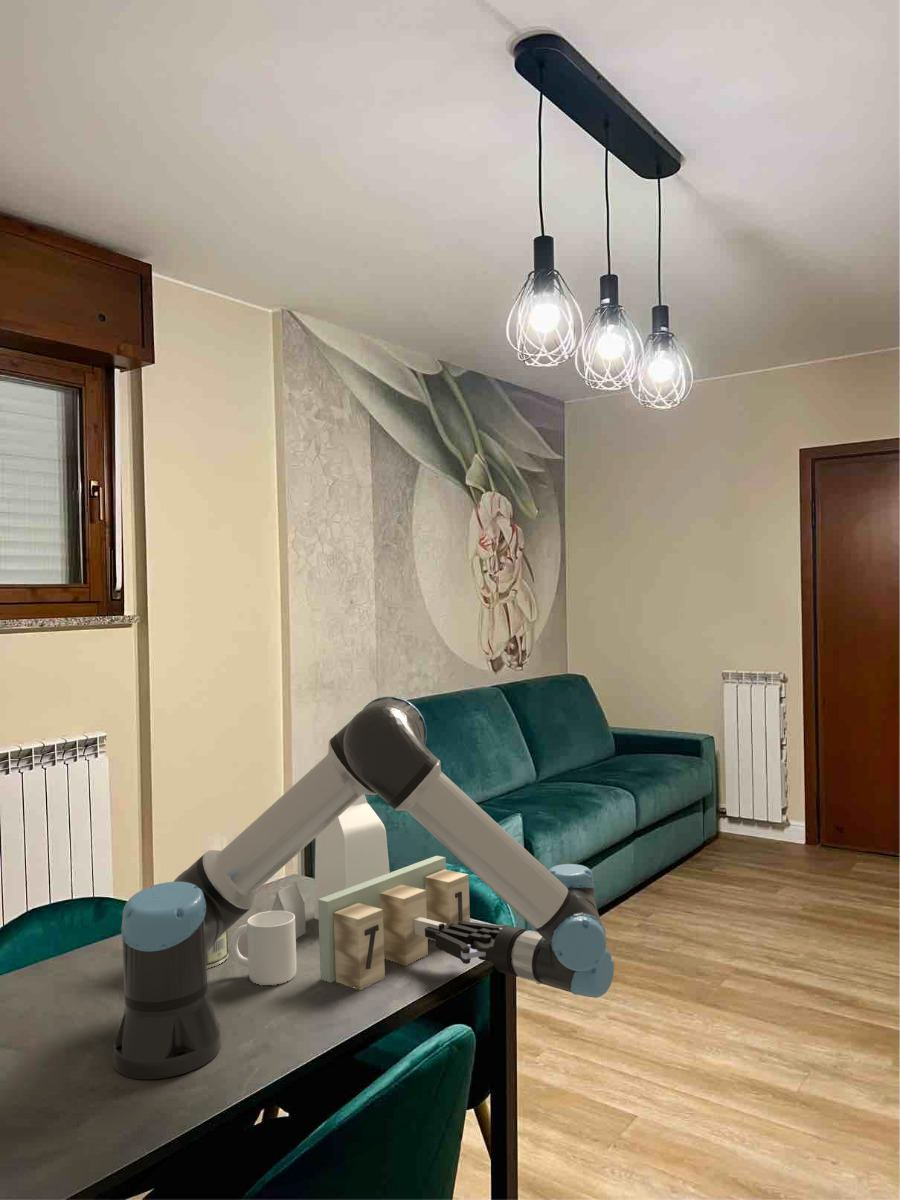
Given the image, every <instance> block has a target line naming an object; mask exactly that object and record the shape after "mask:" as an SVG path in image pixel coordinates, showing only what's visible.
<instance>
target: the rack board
mask: <svg viewBox="0 0 900 1200" xmlns="http://www.w3.org/2000/svg"><path fill="white" fill-rule="evenodd" d="M446 858H447V857H445V856H441V855H435V856H432V857H429V858H426V859H424V860H421V861H417V862H415V863H412V864H410V865H407V866H405V867H402V868H399V869H396V870H394V871H390V873H388V874H385V875H382V876H380V877H377V878H374V879H372V880H369V881H366V882H363V883H361V884H358V885H355V886H353V887H350V888H347V889H344V890H342V891H339V892H336V893H334V894H331V895H328V896H325V897H323V898H320V899H318V912H319V920H318V934H319V935H318V940H319V942H318V943H319V968H320V971H319V972H320V975H319V976H320V980H321V981H323V980H324V982H326V981H327V983H329V984H331V983H332V982H336V970H335V939H334V912H337V911H339V910H342V909H344V908H347V907H349V906H352V905H354V904H357V903H360V904H364V905H368V906H372V907H376V908H379V909H380V893H382V892H384V891H387V890H389V889H392V888H394V887H397V886H400V885H406V886H410V887H414V888H419V889H423V890H425V877H427V876H429V875H432V874H434V873H437V872H439V871H442V870H444V869H446V870H447V860H446Z"/></svg>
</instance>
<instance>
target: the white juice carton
mask: <svg viewBox="0 0 900 1200" xmlns="http://www.w3.org/2000/svg"><path fill="white" fill-rule="evenodd" d="M297 883H298V882H297V881H294V882H292V883H291V884H289V885H286V886H285V887H283V888H281V889H280V890H278V891H276V895H275V898H274V901H273V902H274V903H273V904H272V907H271V909H270V911H287V912H290V913H293V914H294V915H295V934H296V940H297V939H299V938H300V937H302V936H303V935H304V934H306V910H305V908H306V905H305V901H304V899H303V896H302V894H301V893H300V890H299V887H298V884H297ZM298 937H299V938H298Z"/></svg>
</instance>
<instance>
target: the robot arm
mask: <svg viewBox="0 0 900 1200" xmlns="http://www.w3.org/2000/svg"><path fill="white" fill-rule="evenodd" d="M427 738H428V732H427V725H426V722H425V719H424V716H423V715H422V713H421V711H420V710H419V709H418V708H417V707H416V706H415V705H414V704H413V703H411V702H410V701H408V700H406V699H404V698H402V697H398V696H397V697H396V696H381V697H378V698H375V699H373V700H371V701H370V702H369V703H367V704H366V705H365V706H364V707H363V708H362V710H360V711H359V712H358V713H356V714H355V715H354V716H353V718H352V719H351V720H350V721H349V722H348V723H347V724H346V725H344V726H343V727H342V728H341V729H340V730H339V731H337V733H335V735H333V737H331V738H330V739H329V740H328V749H327V750H328V751H327V755H325V756H324V757H323V758H322V759H321V760H320V761H319V762H318V763H317V764H316V765H314V766H313V767H312V768H311V769H310V770H309V771H308V772H307V773H305V775H303V776H302V777H301V778H300V779H299V780H298V781H297V782H296V783H295V784H293V785H292V787H290V788H289V789H288V790H287V791H286V792H285V793H284V794H283V795H281V796H280V797H279V798H278V799H277V800H276V801H274V803H272V805H270V806H269V807H268V808H267V809H266V810H265V811H264V812H263V813H261V815H259V816H258V817H257V818H255V820H254V821H253V822H252V823H250V824H249V825H248V826H247V827H246V828H245V829H244V830H243V831H241V832H240V834H239V835H238V836H236V837H235V838H234V839H233V840H232V841H231V842H230V843H229V844H227V845H226V846H225V847H224V848H223V849H222V850H216V849H211V850H207V851H205V853H204V854H203V855H201V857H199V858H198V859H196V861H194V863H193V864H191V865H190V866H189V867H188V868H187V869H185V870H184V871H182V872H181V873H180V874H179V875H178V876H177V877H176V878H175V879H174V880H173V881H169V882H168V881H167V882H161V883H158V884H154V885H151V886H150V888H143V889H141V890H139V891H138V892H136V893H134V894H133V895H132V896H131V897H130V898H129V899H128V900H127V901H126V903H125V904H124V907H123V910H122V921H121V926H120V931H121V939H122V959H123V960H122V962H123V965H122V966H123V986H124V991H123V992H124V1010H123V1013H122V1016H121V1020H120V1023H119V1027H118V1029H117V1033H116V1036H115V1039H114V1043H113V1050H112V1051H113V1055H112V1056H113V1066H114V1069H115V1070H116V1071H117V1072H118V1073H119V1074H121V1075H123V1076H125V1077H128V1078H132V1079H139V1080H158V1079H159V1080H160V1079H166V1078H173V1077H177V1076H180V1075H183V1074H186V1073H190V1072H192V1071H194V1070H195V1071H196V1070H197V1069H199V1068H201V1067H203V1066H205V1065H207V1064H208V1063H210V1061H212V1060H213V1059H214V1058H215V1057H216V1056H217V1055H218V1054H219V1052H220V1050H221V1049H222V1031H221V1027H220V1026H221V1025H220V1023H219V1022H218V1019H217V1016H216V1013H215V1011H214V1007H213V1005H212V1002H211V999H210V997H209V996H210V995H209V993H208V992H209V991H208V969H207V957H206V956H207V952H208V951H209V950H210V949H211V947H212V946H213V945H214V943H215V942H216V941H217V940H218V939H219V938H220V936H221V935H222V934H223V933H224V932H226V931H227V932H228V930H229V929H230V928H231V927H232V926H233V925H235V924H236V923H237V922H238V921H239V920H240V919H241V918H242V917H243V916H244V915H245V914H246V913H247V912H249V911H250V910H251V909H252V908H253V907H254V906H255V904H256V900H257V891H258V890H259V889H260V888H262V887H263V885H264V884H266V883H267V882H268V881H269V880H270V879H271V878H273V877H274V875H276V874H277V873H278V872H279V871H280V870H281V869H283V868H284V866H286V865H287V864H288V863H289V862H290V861H291V860H292V859H293V858H294V857H296V856H297V855H298V854H299V853H300V852H301V851H302V850H303V849H305V848H306V847H307V846H308V845H309V844H310V843H311V842H313V840H314V839H316V836H318V835H319V834H320V833H321V832H322V831H323V830H324V829H325V828H326V827H328V826H329V825H330V824H331V823H332V822H333V821H334V820H335V819H336V818H337V817H339V816H340V815H341V814H342V813H343V812H344V811H345V810H346V809H347V808H349V807H350V806H351V805H352V804H353V803H354V802H355V801H356V800H357V799H359V798H360V797H361V796H362V795H364V794H365V795H371V796H373V795H374V796H376V795H378V796H379V797H380V798H381V799H382V800H384V801H385V802H386V803H387V804H388V805H389V806H390V807H391V808H393V810H394V811H397V812H400V811H401V812H402V811H405V812H407V813H408V814H409V815H410V816H411V817H412V818H413V819H414V820H416V821H417V822H418V823H419V824H420V825H422V827H423V828H424V829H426V830H427V831H428V832H429V833H430V834H431V835H432V836H433V837H434V838H435V839H436V840H437V841H439V843H441V844H442V845H443V846H444V847H445V848H446V849H447V850H448V851H450V853H451V854H452V855H454V856H455V857H456V858H457V859H458V860H459V861H460V862H461V863H462V864H464V866H466V868H468V869H469V870H470V871H471V872H472V873H473V874H474V875H475V876H476V877H478V878H479V879H480V880H481V881H482V882H483V883H484V884H485V885H487V887H489V888H490V889H491V890H492V892H494V893H495V894H496V895H497V896H498V897H499V898H501V900H502V901H503V902H504V903H505V904H507V905H508V906H509V907H510V908H511V909H512V910H513V911H514V912H516V913H517V914H518V915H519V916H520V917H521V919H523V920H524V921H525V922H526V923H527V924H529V926H531V927H532V928H533V929H534V930H535V931H534V930H527V929H524V928H521V927H517V926H512V925H495V924H494V925H493V924H488V923H487V924H486V923H480V922H473V921H470V922H466V921H458V924H454V923H450V924H449V925H447V924H445V923H441V922H437V921H433V920H429V919H426V918H422V917H418V918H416V919H414V928H415V934H416V935H419V936H423V937H427V938H430V939H434V940H435V941H434V943H435V948H436V949H438V950H440V951H442V952H444V953H447V954H448V955H450V956H453V957H454V958H457V959H458V960H460V962H462V963H463V964H465V965H467V964H470V963H471V960H472V959H474V958H475V959H476V958H478V959H479V960H481V961H487V962H489V961H490V962H491V964H493V966H494V967H495V969H496V970H497V971H498V972H499V973H502V974H505V975H509V976H513V977H517V978H520V979H524V980H527V981H530V982H531V981H532V982H534V983H536V985H541V984H542V985H544V986H547V987H548V986H549V987H551V988H555V989H558V990H562V991H565V992H568V993H571V994H572V995H575V996H577V995H578V996H582V997H586V998H587V997H588V998H594V999H595V998H596V999H597V998H600V997H602V996H603V995H605V994H606V993H607V992H608V990H609V989H610V988H611V985H612V982H613V978H614V973H615V962H614V959H613V958H612V954H611V952H610V951H609V950H608V949H607V940H606V939H607V938H606V937H607V934H606V929H605V927H604V925H603V923H602V920H601V917H600V914H599V910H598V907H597V903H596V901H595V899H596V898H595V889H596V886H595V885H594V876H593V875H594V873H593V871H592V869H590V868H589V867H587V866H585V865H582V864H576V863H565V864H564V863H562V864H557V865H554V866H552V867H550V868H549V869H547V868H546V866H544V865H543V864H542V863H541V862H540V861H539V860H538V859H537V858H535V857H534V855H532V854H531V853H530V852H529V851H528V850H527V849H526V848H525V847H524V846H522V845H521V844H520V843H519V842H518V840H516V839H515V838H514V837H513V836H512V835H511V834H510V833H509V832H507V830H505V829H504V828H503V827H502V826H501V825H500V824H499V823H498V822H497V821H495V820H494V819H493V818H492V817H491V815H489V814H488V813H487V812H486V811H485V810H483V808H482V807H481V806H479V805H478V804H477V803H476V802H475V801H474V800H473V799H472V798H470V797H469V795H468V794H467V793H465V792H464V791H463V790H462V789H461V788H460V787H459V786H458V785H457V784H455V782H453V781H452V780H451V779H450V778H449V777H448V776H447V775H446V774H445V773H443V772H442V770H441V768H442V766H441V760H440V759H439V758H438V757H437V756H435V754H433V753H432V751H431V750H429V748H428V747H427V746H426V743H427Z"/></svg>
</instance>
